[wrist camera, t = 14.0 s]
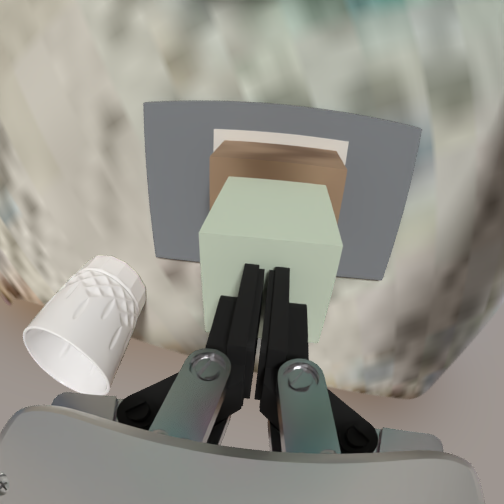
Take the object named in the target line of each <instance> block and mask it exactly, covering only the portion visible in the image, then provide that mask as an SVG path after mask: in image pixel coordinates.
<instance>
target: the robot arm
mask: <svg viewBox="0 0 504 504" xmlns="http://www.w3.org/2000/svg"><path fill="white" fill-rule="evenodd" d="M259 267H260V265H257V264H247V263H245V266H244V270H243V275H242V279H241V284H240V288H239V293H238V297H232V296H224V295H221V296H220V299H219V302H218V306H217V309H216V313H215V316H214V320H213V323H212V327H211V330H210V334H209V337H208V341H207V344H206V348H205V349H200V350H197V351H195V352H193V353H192V354H190V355H189V356H188V358H187V359H186V361H185V362H184V364H183V366H182V368H181V370H180V372H179V373H176V374H174V375H172V376H170V377H168V378H166V379H164V380H162V381H160V382H158V383H156V384H154V385H151V386H150V387H147V388H145V389H143V390H141V391H139V392H136V393H134V394H132V395H130V396H128V397H127V398H125V399H117V398H116V396H104V395H92V394H81V393H71V392H65V393H62V394H60V395H58V396H57V397H56V398H55V399H54V400H53V403H52V405H36V406H30V407H25V408H23V409H20V410H19V411H17V412H16V413H15V414H14V415H13V416H12V417H11V418H10V419H9V420H8V422H7V423H6V425H5V426H4V428H3V429H2V431H1V433H0V504H485V501H484V495H483V491H482V487H481V484H480V480H479V477H478V475H477V472H476V470H475V469H474V467H473V466H472V465H471V463H469V462H468V461H467V460H465V459H463V458H461V457H458V456H456V455H453V454H449V453H445V452H443V446H442V443H441V441H440V440H439V439H438V438H437V437H436V436H434V435H431V434H425V433H417V432H409V431H403V430H396V429H390V428H384V427H383V428H382V429H375V428H374V427H373V426H372V425H371V424H370V423H369V422H367V421H366V420H365V419H364V418H362V417H361V416H360V415H359V414H357V413H356V412H355V411H354V410H353V409H351V408H350V407H349V406H348V405H346V404H345V403H344V402H343V401H341V400H340V399H339V398H338V397H337V396H336V395H334V394H333V393H332V392H331V391H330V390H328V389H327V386H326V382H325V377H324V374H323V372H322V370H321V368H320V367H319V366H318V365H317V364H315V363H314V362H312V361H309V358H308V318H307V305H306V304H298V303H289V289H290V268H286V267H275V270H269V278H268V287H267V296H266V305H265V314H264V322H263V331H262V339H261V348H260V356H259V365H258V374H257V383H256V391H255V399H257V400H260V412H261V413H262V414H263V415H264V416H265V417H266V418H267V419H268V434H269V447H270V451H261V450H251V449H243V448H235V447H227V446H221V443H222V440H223V437H224V435H225V432H226V429H227V427H228V424H229V421H230V418H231V415H232V414H233V413H235V412H237V411H238V410H240V409H241V406H243V400H244V398H250V392H251V385H252V378H253V370H254V363H255V355H256V348H257V340H258V333H259V325H260V315H261V305H262V294H263V284H264V273H265V269H259Z"/></svg>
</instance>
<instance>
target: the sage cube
mask: <svg viewBox="0 0 504 504" xmlns="http://www.w3.org/2000/svg"><path fill="white" fill-rule="evenodd" d="M199 249H200V267H201V282H202V297H203V310H204V322H205V332H210V330H211V327H212V323H213V320H214V316H215V313H216V309H217V306H218V302H219V299H220V296H221V295H224V296H232V297H238V293H239V288H240V284H241V279H242V275H243V270H244V266H245V263H247V264H257V265H260V267H259V269H265V273H264V284H263V294H262V305H261V315H260V325H259V333H258V338H262V331H263V322H264V314H265V305H266V296H267V287H268V278H269V270H275V267H286V268H290V289H289V303H298V304H306V305H307V318H308V342H309V343H318V342H319V338H320V335H321V331H322V328H323V324H324V321H325V317H326V313H327V310H328V306H329V302H330V298H331V294H332V290H333V286H334V282H335V278H336V274H337V270H338V266H339V262H340V257H341V253H342V249H343V244H342V240H341V236H340V233H339V229H338V225H337V222H336V218H335V215H334V211H333V208H332V204H331V201H330V197H329V194H328V191H327V187H326V185H320V184H311V183H302V182H292V181H281V180H270V179H258V178H245V177H230V176H229V177H228V179H227V180H226V182H225V184H224V186H223V188H222V190H221V191H220V193H219V195H218V197H217V199H216V201H215V202H214V204H213V206H212V208H211V210H210V212H209V214H208V216H207V217H206V219H205V221H204V223H203V225H202V227H201V229H200V231H199Z"/></svg>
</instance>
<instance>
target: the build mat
mask: <svg viewBox="0 0 504 504" xmlns="http://www.w3.org/2000/svg"><path fill="white" fill-rule="evenodd" d="M143 104H144V134H145V152H146V168H147V181H148V192H149V203H150V213H151V222H152V231H153V239H154V247H155V254H156V257H161V258H169V259H178V260H187V261H196V262H200V249H199V231H200V229H201V227H202V225H203V223H204V221H205V219H206V217H207V216H208V214H209V212H210V156H211V155H212V153H213V152H214V151H215V150H216V149H217V148H218V147H219V146H220V145H221V143H222V142H223V141H224V140H230V141H246V142H260V143H272V144H283V145H292V146H302V147H310V148H318V149H326V150H333V151H337V153H338V154H339V156H340V158H341V160H342V161H343V163H344V165H345V167H346V168H347V175H346V181H345V187H344V193H343V198H342V203H341V209H340V214H339V219H338V224H337V225H338V229H339V233H340V236H341V240H342V244H343V249H342V253H341V257H340V262H339V266H338V270H337V274H336V276H340V277H351V278H361V279H372V280H382V279H383V276H384V273H385V270H386V267H387V264H388V261H389V258H390V255H391V252H392V248H393V245H394V242H395V239H396V235H397V232H398V229H399V225H400V222H401V218H402V214H403V211H404V207H405V203H406V199H407V196H408V192H409V188H410V183H411V179H412V175H413V171H414V166H415V162H416V157H417V152H418V147H419V142H420V137H421V131H422V129H421V128H418V127H414V126H410V125H406V124H402V123H397V122H393V121H388V120H383V119H378V118H373V117H368V116H363V115H357V114H352V113H346V112H339V111H333V110H326V109H318V108H311V107H302V106H293V105H283V104H271V103H257V102H238V101H160V102H145V103H143Z"/></svg>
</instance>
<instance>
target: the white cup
mask: <svg viewBox="0 0 504 504" xmlns="http://www.w3.org/2000/svg"><path fill="white" fill-rule="evenodd" d="M145 302H146V288H145V286H144V284H143V282H142V280H141V278H140V276H139V274H138V273H137V272H135V271H134V270H133V269H132V268H131V267H130V266H129V265H128V264H127V263H126V262H124V261H122V260H119V259H117V258H115V257H113V256H106V255H97V256H95V257H94V258H92V259H90V260H88V261H87V262H86V263H85V264H84V265H83V266H82V267H81V268H80V270H79V271H78V272H77V273H75V274H74V275H73V276H72V277H71V278H70V279H69V280H68V281H67V282H66V283H65V284H64V285H63V286H62V287H61V288H60V289H59V290H58V291H57V292H56V293H55V294H54V296H53V297H52V298H51V299H50V300H49V301H48V302H47V304H46V305H45V306H44V307H43V308H42V309H41V311H40V312H39V313H38V314H37V316H36V317H35V318H34V319H33V320H32V321H31V323H30V324H29V325H28V326H27V327H26V329H25V330H24V332H23V340H24V344H25V346H26V348H27V350H28V352H29V353H30V355H31V356H32V357H33V359H34V360H35V361H36V362H37V364H38V365H39V366H40V367H41V368H42V369H43V370H44V371H46V372H47V373H48V374H49V375H50V376H51V377H53V378H54V379H55V380H57V381H58V382H60V383H62V384H63V385H65V386H67V387H68V388H70V389H72V390H74V391H77V392H79V393H82V394H92V395H106V394H107V393H108V392H109V390H110V388H111V385H112V383H113V380H114V378H115V375H116V373H117V370H118V368H119V365H120V363H121V361H122V358H123V356H124V354H125V351H126V349H127V346H128V344H129V341H130V338H131V336H132V334H133V331H134V329H135V326H136V322H137V319H138V317H139V315H140V312H141V310H142V308H143V306H144V304H145Z"/></svg>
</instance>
